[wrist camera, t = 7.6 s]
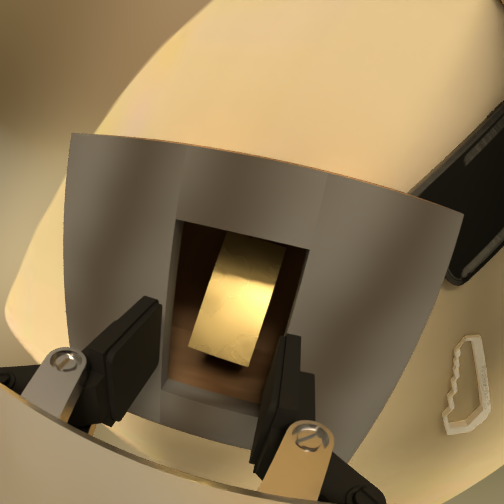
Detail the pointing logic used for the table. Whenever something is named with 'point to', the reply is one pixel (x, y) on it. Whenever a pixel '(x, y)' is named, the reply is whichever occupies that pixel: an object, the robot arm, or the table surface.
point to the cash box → (286, 287)
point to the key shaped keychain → (483, 389)
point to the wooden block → (237, 298)
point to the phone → (472, 195)
